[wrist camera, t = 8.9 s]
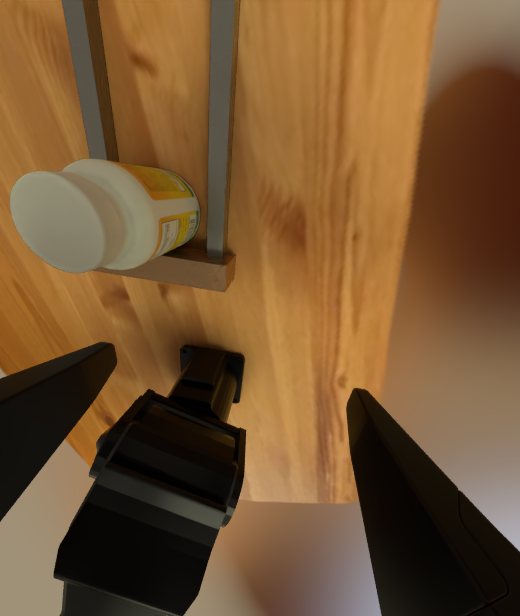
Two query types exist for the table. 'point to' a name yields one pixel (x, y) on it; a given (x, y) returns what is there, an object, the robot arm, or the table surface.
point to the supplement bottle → (103, 214)
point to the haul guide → (223, 61)
